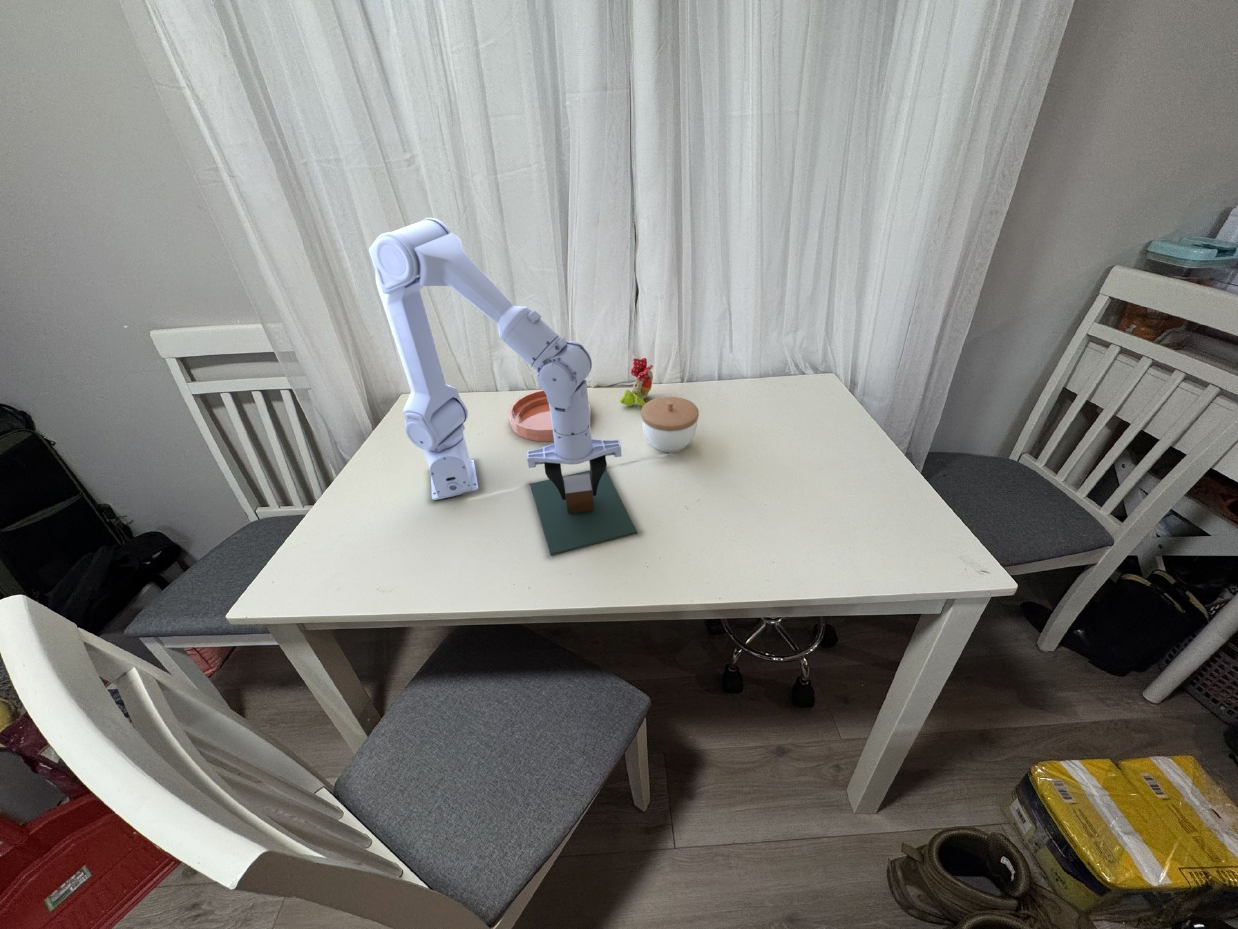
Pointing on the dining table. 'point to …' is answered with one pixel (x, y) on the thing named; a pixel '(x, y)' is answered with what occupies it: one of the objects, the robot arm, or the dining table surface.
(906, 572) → the dining table surface
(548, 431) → the round pink tray
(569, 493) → the block
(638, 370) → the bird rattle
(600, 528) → the mat
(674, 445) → the trinket box
